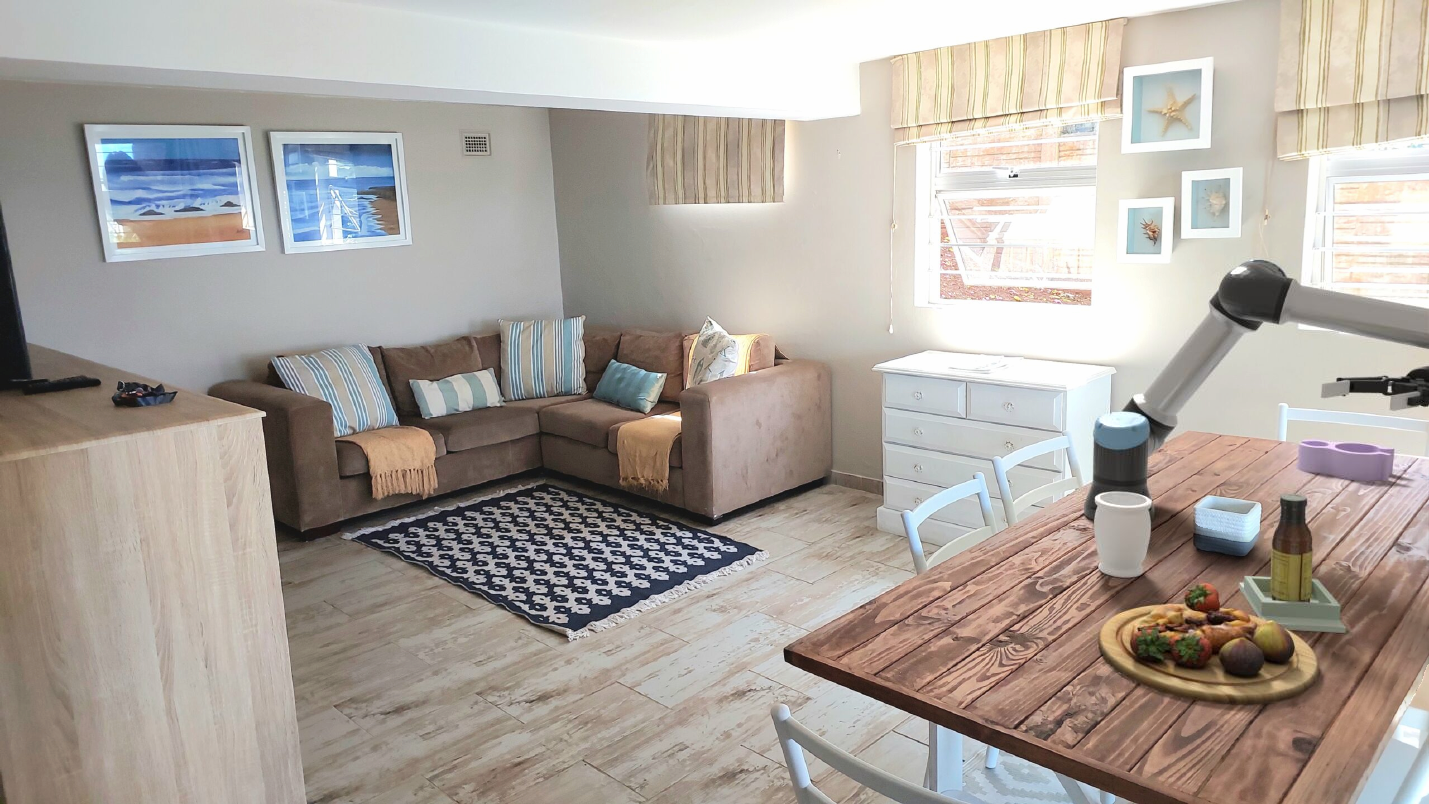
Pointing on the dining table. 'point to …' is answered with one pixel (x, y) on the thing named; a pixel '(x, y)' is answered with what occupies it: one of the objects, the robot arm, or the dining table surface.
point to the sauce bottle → (1292, 552)
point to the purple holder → (1346, 459)
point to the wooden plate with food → (1208, 652)
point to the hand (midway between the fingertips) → (1356, 396)
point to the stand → (1294, 607)
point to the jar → (1122, 532)
